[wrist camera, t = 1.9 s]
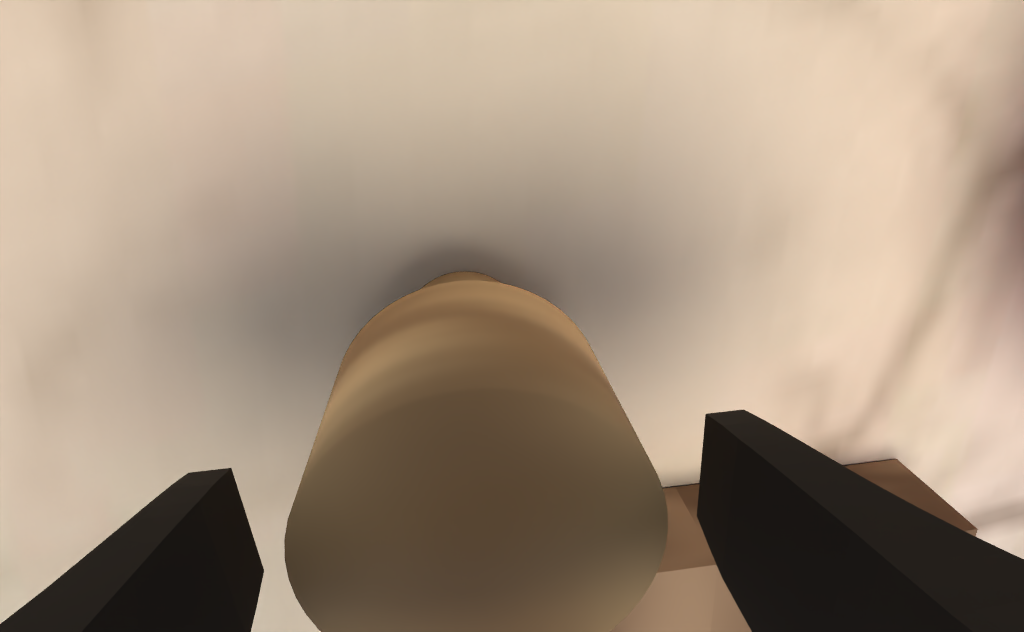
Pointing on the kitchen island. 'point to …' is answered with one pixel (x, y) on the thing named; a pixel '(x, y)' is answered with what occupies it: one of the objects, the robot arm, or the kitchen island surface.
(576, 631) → the oak peg
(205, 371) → the kitchen island surface
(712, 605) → the brown flat rectangular block
